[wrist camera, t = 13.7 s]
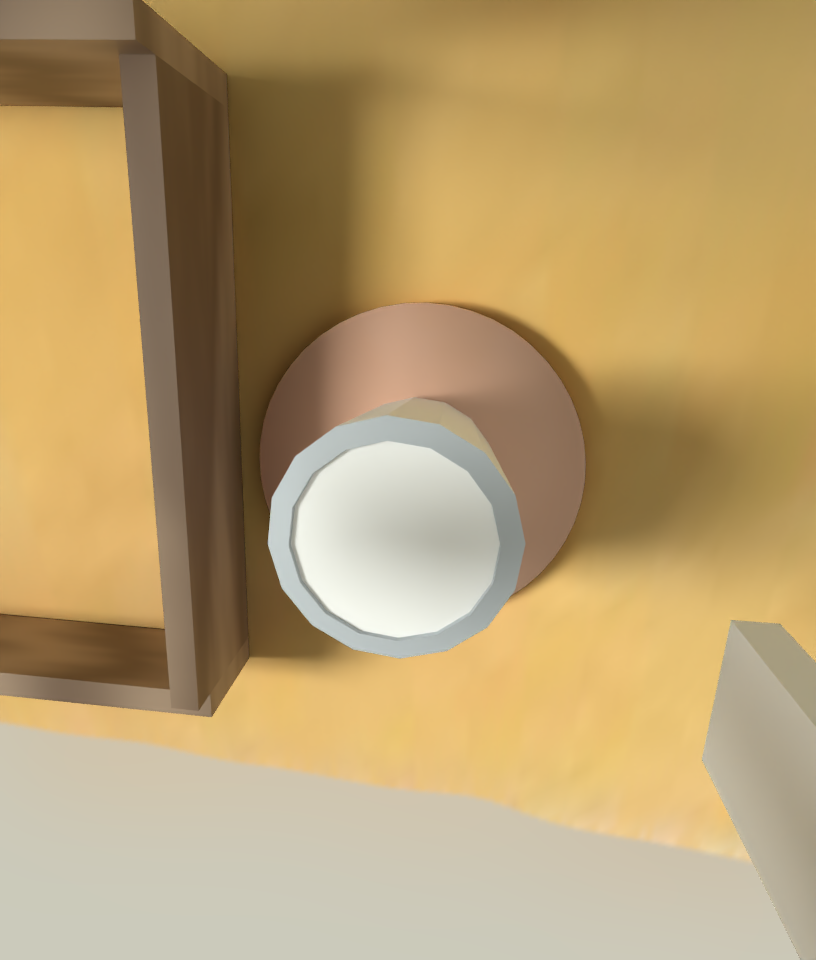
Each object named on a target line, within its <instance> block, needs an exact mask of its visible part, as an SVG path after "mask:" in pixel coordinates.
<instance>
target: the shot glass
mask: <svg viewBox="0 0 816 960" xmlns="http://www.w3.org/2000/svg"><path fill="white" fill-rule="evenodd" d="M525 544H526V543H525V539H524V534H523V529H522V524H521V520H520V515H519V510H518V505H517V500H516V496H515V493H514V491H513V490H512V488H511V486H510V484H509V482H508V480H507V478H506V476H505V474H504V472H503V470H502V468H501V466H500V464H499V462H498V460H497V459H496V457H495V455H494V453H493V451H492V449H491V447H490V445H489V443H488V442H487V440H486V439H485V437H484V436H483V435H482V433H481V432H480V430H479V429H478V428H477V426H476V425H475V423H474V422H473V421H472V419H471V418H469V417H468V416H466V415H465V414H463V413H461V412H460V411H458V410H457V409H455V408H453V407H452V406H450V405H449V404H447V403H445V402H440V401H435V400H429V399H423V398H417V397H413V398H408V399H404V400H400V401H395V402H391V403H386V404H383V405H381V406H379V407H377V408H375V409H373V410H370V411H368V412H366V413H364V414H362V415H360V416H358V417H355V418H353V419H351V420H349V421H347V422H345V423H342V424H340V425H338V426H336V427H334V428H333V429H332V430H330V431H329V432H328V433H326V434H325V435H324V436H322V437H321V438H319V439H318V440H317V441H315V442H314V443H313V444H311V445H310V446H308V447H307V448H306V449H304V450H303V451H302V452H300V453H299V454H298V455H296V456H295V458H294V459H293V461H292V463H291V465H290V467H289V468H288V470H287V472H286V474H285V475H284V477H283V479H282V481H281V482H280V484H279V486H278V488H277V489H276V491H275V493H274V495H273V497H272V502H271V513H270V524H269V535H268V547H269V550H270V553H271V556H272V559H273V562H274V565H275V568H276V572H277V575H278V578H279V581H280V584H281V587H282V589H283V590H284V592H285V593H286V594H287V595H288V596H289V598H290V599H291V600H292V601H293V603H294V604H295V605H296V606H297V607H298V609H299V610H300V611H301V612H302V614H303V615H304V616H305V617H306V619H307V620H308V621H309V622H310V623H311V625H313V626H314V627H316V628H318V629H319V630H321V631H323V632H324V633H326V634H328V635H330V636H331V637H333V638H335V639H336V640H338V641H340V642H341V643H343V644H345V645H346V646H348V647H350V648H351V649H354V650H359V651H364V652H369V653H374V654H380V655H385V656H390V657H395V658H406V657H412V656H418V655H425V654H431V653H437V652H444V651H448V650H449V649H451V648H453V647H454V646H456V645H458V644H460V643H461V642H463V641H465V640H466V639H468V638H470V637H472V636H473V635H475V634H477V633H478V632H480V631H482V630H484V629H485V628H487V627H488V626H489V624H490V623H491V622H492V620H493V619H494V618H495V616H496V615H497V614H498V612H499V611H500V610H501V608H502V607H503V606H504V604H505V603H506V602H507V600H508V599H509V598H510V596H511V595H512V594H513V592H514V591H515V588H516V584H517V579H518V575H519V570H520V566H521V562H522V557H523V553H524V548H525Z"/></svg>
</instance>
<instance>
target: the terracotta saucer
mask: <svg viewBox="0 0 816 960" xmlns="http://www.w3.org/2000/svg"><path fill="white" fill-rule="evenodd" d="M413 397H417V398H423V399H429V400H435V401H440V402H445V403H447V404H449V405H450V406H452V407H453V408H455V409H457V410H458V411H460V412H461V413H463V414H465V415H466V416H468V417H469V418H471V419H472V421H473V422H474V423H475V425H476V426H477V428H478V429H479V430H480V432H481V433H482V435H483V436H484V437H485V439H486V440H487V442H488V443H489V445H490V447H491V449H492V451H493V453H494V455H495V457H496V459H497V460H498V462H499V464H500V466H501V468H502V470H503V472H504V474H505V476H506V478H507V480H508V482H509V484H510V486H511V488H512V490H513V491H514V493H515V496H516V500H517V505H518V510H519V515H520V520H521V524H522V529H523V534H524V539H525V543H526V544H525V548H524V553H523V557H522V562H521V566H520V570H519V575H518V579H517V584H516V588H515V591H514V592H513V594H514V593H516V592H518V591H519V590H521V589H522V588H524V587H525V586H526V585H527V584H529V583H530V582H531V581H532V580H533V579H534V578H536V577H537V576H538V575H539V574H540V573H541V572H542V571H543V570H544V569H545V567H546V566H547V565H548V564H549V563H550V562H551V561H552V560H553V559H554V557H555V556H556V554H557V553H558V551H559V550H560V548H561V547H562V545H563V544H564V542H565V541H566V539H567V537H568V535H569V533H570V531H571V529H572V527H573V525H574V522H575V519H576V516H577V514H578V511H579V508H580V505H581V500H582V495H583V490H584V485H585V470H586V458H585V446H584V438H583V434H582V430H581V425H580V421H579V418H578V415H577V413H576V410H575V407H574V405H573V402H572V399H571V397H570V396H569V394H568V392H567V390H566V388H565V387H564V385H563V383H562V381H561V379H560V378H559V377H558V375H557V374H556V373H555V371H554V370H553V369H552V367H551V366H550V365H549V363H548V362H547V361H546V360H545V359H544V358H543V357H542V356H541V355H540V354H539V353H538V352H537V351H536V350H535V349H534V348H533V347H532V346H531V345H530V344H529V343H528V342H527V341H526V340H524V339H523V338H522V337H520V336H519V335H518V334H516V333H515V332H514V331H512V330H511V329H509V328H508V327H506V326H504V325H502V324H501V323H499V322H497V321H495V320H493V319H492V318H489V317H487V316H484V315H482V314H479V313H477V312H474V311H472V310H468V309H464V308H460V307H456V306H452V305H445V304H436V303H403V304H397V305H391V306H385V307H379V308H376V309H373V310H370V311H367V312H363V313H360V314H358V315H355V316H353V317H351V318H349V319H347V320H345V321H343V322H341V323H339V324H337V325H335V326H334V327H332V328H331V329H329V330H328V331H326V332H325V333H323V334H322V335H320V336H319V337H318V338H317V339H316V340H314V341H313V342H312V343H311V344H310V345H309V346H308V347H306V348H305V349H304V350H303V351H302V353H301V354H300V355H299V356H298V357H297V358H296V359H295V361H294V362H293V363H292V364H291V365H290V367H289V368H288V370H287V371H286V373H285V374H284V376H283V377H282V379H281V380H280V382H279V384H278V386H277V388H276V390H275V392H274V394H273V396H272V398H271V401H270V403H269V406H268V409H267V413H266V416H265V419H264V422H263V428H262V434H261V440H260V472H261V482H262V487H263V491H264V495H265V500H266V503H267V506H268V509H269V511H270V513H271V502H272V497H273V495H274V493H275V491H276V489H277V488H278V486H279V484H280V482H281V481H282V479H283V477H284V475H285V474H286V472H287V470H288V468H289V467H290V465H291V463H292V461H293V459H294V458H295V456H296V455H298V454H299V453H300V452H302V451H303V450H304V449H306V448H307V447H308V446H310V445H311V444H313V443H314V442H315V441H317V440H318V439H319V438H321V437H322V436H324V435H325V434H326V433H328V432H329V431H330V430H332V429H333V428H334V427H336V426H338V425H340V424H342V423H345V422H347V421H349V420H351V419H353V418H355V417H358V416H360V415H362V414H364V413H366V412H368V411H370V410H373V409H375V408H377V407H379V406H381V405H383V404H386V403H391V402H395V401H400V400H404V399H408V398H413ZM513 594H512V595H513Z"/></svg>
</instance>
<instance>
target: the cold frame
mask: <svg viewBox="0 0 816 960" xmlns="http://www.w3.org/2000/svg"><path fill="white" fill-rule="evenodd" d="M0 105H16V106H90V107H123V113H124V125H125V138H126V150H127V163H128V175H129V188H130V200H131V213H132V225H133V237H134V250H135V262H136V275H137V287H138V300H139V312H140V325H141V337H142V350H143V362H144V375H145V387H146V399H147V412H148V424H149V437H150V449H151V462H152V474H153V487H154V499H155V512H156V524H157V537H158V549H159V561H160V574H161V586H162V599H163V611H164V624H165V629H154V628H143V627H132V626H121V625H111V624H100V623H89V622H78V621H67V620H56V619H46V618H35V617H24V616H13V615H2V614H0V695H5V696H15V697H24V698H34V699H43V700H53V701H63V702H72V703H82V704H91V705H101V706H110V707H120V708H129V709H139V710H149V711H158V712H168V713H177V714H187V715H196V716H206V717H212V716H213V714H214V713H215V711H216V709H217V708H218V706H219V705H220V703H221V701H222V700H223V698H224V697H225V695H226V694H227V692H228V690H229V689H230V687H231V686H232V684H233V682H234V681H235V679H236V678H237V676H238V675H239V673H240V671H241V670H242V668H243V667H244V665H245V663H246V662H247V660H248V659H249V643H248V617H247V591H246V564H245V538H244V512H243V486H242V460H241V434H240V407H239V381H238V355H237V329H236V303H235V277H234V251H233V224H232V198H231V172H230V146H229V120H228V94H227V74H226V73H225V72H223V71H222V70H221V69H220V68H219V67H218V66H217V65H215V64H214V63H213V62H212V61H211V60H210V59H209V58H207V57H206V56H205V55H204V54H203V53H202V52H201V51H199V50H198V49H197V48H196V47H195V46H194V45H193V44H191V43H190V42H189V41H188V40H187V39H186V38H185V37H183V36H182V35H181V34H180V33H179V32H178V31H177V30H175V29H174V28H173V27H172V26H171V25H170V24H168V23H167V22H166V21H165V20H164V19H163V18H162V17H160V16H159V15H158V14H157V13H156V12H155V11H154V10H152V9H151V8H150V7H149V6H148V5H147V4H146V3H144V2H143V1H142V0H0Z"/></svg>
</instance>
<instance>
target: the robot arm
mask: <svg viewBox="0 0 816 960" xmlns="http://www.w3.org/2000/svg"><path fill="white" fill-rule="evenodd" d="M702 761H703V763H704V765H705V767H706V769H707V771H708V773H709V775H710V777H711V779H712V781H713V783H714V785H715V787H716V789H717V791H718V793H719V796H720V798H721V800H722V802H723V804H724V806H725V808H726V810H727V812H728V814H729V816H730V818H731V820H732V822H733V824H734V826H735V828H736V830H737V832H738V834H739V836H740V838H741V840H742V842H743V844H744V846H745V848H746V850H747V852H748V854H749V856H750V858H751V860H752V862H753V864H754V866H755V868H756V870H757V872H758V874H759V876H760V879H761V880H762V883H763V885H764V886H765V889H766V891H767V893H768V895H769V897H770V899H771V901H772V903H773V905H774V907H775V909H776V911H777V913H778V915H779V917H780V919H781V921H782V923H783V925H784V927H785V929H786V931H787V933H788V935H789V937H790V939H791V941H792V943H793V945H794V947H795V949H796V951H797V954H798V956H799V958H800V960H816V662H815V661H814V660H813V659H812V658H811V657H810V656H809V655H808V654H807V652H806V651H805V650H804V649H803V648H802V647H801V646H800V645H799V644H798V643H797V642H796V641H795V639H794V638H793V637H792V636H791V635H790V634H789V633H788V632H787V631H786V630H785V629H784V628H783V627H782V625H781V624H775V623H762V622H749V621H736V620H731V623H730V628H729V633H728V638H727V642H726V647H725V652H724V657H723V661H722V666H721V671H720V676H719V680H718V685H717V690H716V695H715V699H714V704H713V709H712V714H711V718H710V723H709V728H708V733H707V737H706V742H705V747H704V752H703V757H702Z"/></svg>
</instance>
